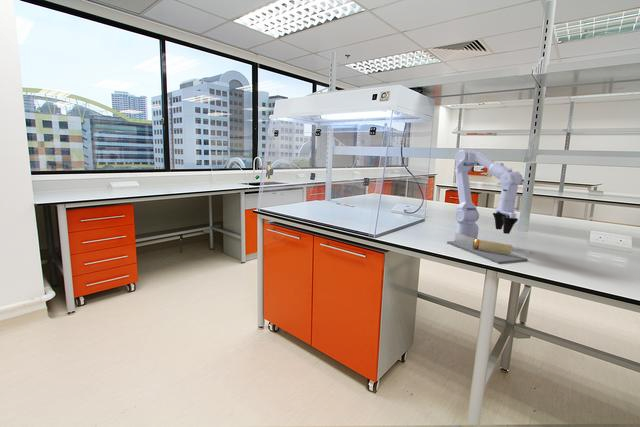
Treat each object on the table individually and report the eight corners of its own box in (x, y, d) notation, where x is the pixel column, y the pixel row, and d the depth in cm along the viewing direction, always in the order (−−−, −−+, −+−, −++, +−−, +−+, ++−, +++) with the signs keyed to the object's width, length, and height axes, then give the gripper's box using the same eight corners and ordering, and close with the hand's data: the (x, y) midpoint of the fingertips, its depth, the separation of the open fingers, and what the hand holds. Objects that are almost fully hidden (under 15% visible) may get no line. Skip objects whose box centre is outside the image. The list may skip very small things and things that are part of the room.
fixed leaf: (456, 241, 149) (457, 232, 148) (474, 248, 139) (475, 238, 139) (454, 241, 149) (455, 232, 148) (472, 248, 139) (474, 238, 138)
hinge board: (473, 241, 154) (473, 239, 154) (527, 260, 129) (527, 258, 128) (446, 243, 149) (447, 241, 149) (498, 263, 123) (498, 261, 123)
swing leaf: (473, 247, 139) (475, 238, 138) (510, 254, 132) (511, 244, 132) (473, 248, 138) (474, 239, 137) (510, 255, 131) (511, 245, 130)
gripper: (490, 197, 142) (486, 226, 144) (505, 202, 128) (499, 234, 130) (507, 198, 141) (502, 228, 143) (523, 203, 127) (517, 236, 129)
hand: (502, 231), depth 137 cm, fingers open, 7 cm apart
